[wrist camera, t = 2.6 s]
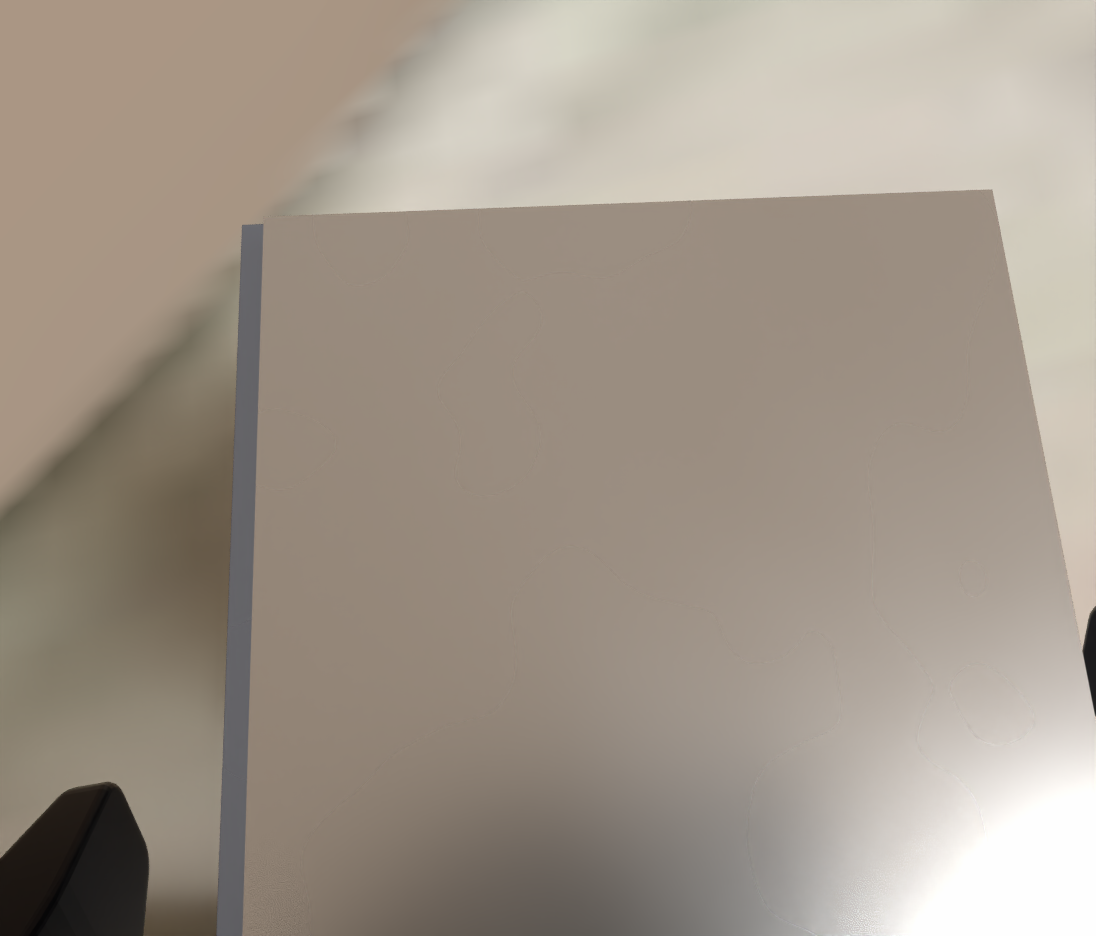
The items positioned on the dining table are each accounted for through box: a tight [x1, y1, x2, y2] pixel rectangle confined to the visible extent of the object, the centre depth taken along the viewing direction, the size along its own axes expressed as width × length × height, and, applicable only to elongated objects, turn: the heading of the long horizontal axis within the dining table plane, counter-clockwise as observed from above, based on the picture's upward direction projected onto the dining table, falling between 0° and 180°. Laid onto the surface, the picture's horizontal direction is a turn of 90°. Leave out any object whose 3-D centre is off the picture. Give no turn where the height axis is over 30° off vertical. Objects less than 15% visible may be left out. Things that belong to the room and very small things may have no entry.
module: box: [216, 190, 1096, 936], centre depth 12 cm, size 5×5×13 cm
